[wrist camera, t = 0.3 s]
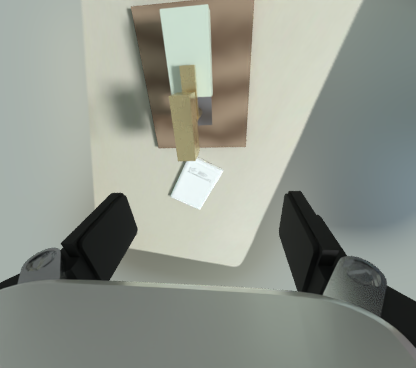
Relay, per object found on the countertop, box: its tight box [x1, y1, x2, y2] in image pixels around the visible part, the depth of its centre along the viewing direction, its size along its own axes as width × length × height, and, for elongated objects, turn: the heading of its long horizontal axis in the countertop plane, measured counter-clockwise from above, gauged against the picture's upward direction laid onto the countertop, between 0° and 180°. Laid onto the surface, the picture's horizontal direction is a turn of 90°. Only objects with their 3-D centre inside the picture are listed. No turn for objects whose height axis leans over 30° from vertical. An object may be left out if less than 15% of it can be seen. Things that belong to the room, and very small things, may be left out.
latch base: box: [131, 0, 254, 148], centre depth 31 cm, size 22×18×4 cm
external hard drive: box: [171, 157, 223, 209], centre depth 43 cm, size 2×8×12 cm
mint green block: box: [160, 4, 213, 97], centre depth 26 cm, size 10×6×3 cm, turn 3°
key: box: [169, 65, 202, 161], centre depth 27 cm, size 11×2×13 cm, turn 3°
